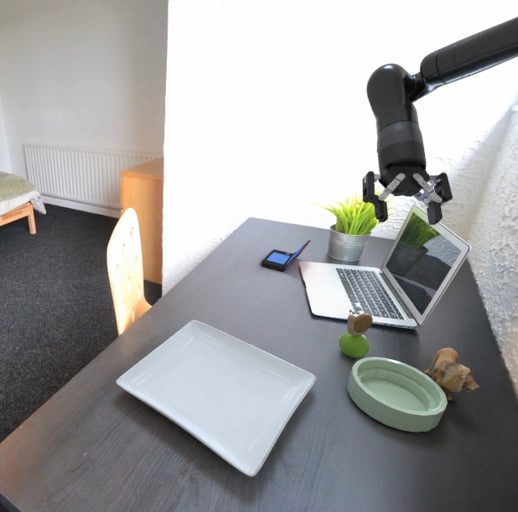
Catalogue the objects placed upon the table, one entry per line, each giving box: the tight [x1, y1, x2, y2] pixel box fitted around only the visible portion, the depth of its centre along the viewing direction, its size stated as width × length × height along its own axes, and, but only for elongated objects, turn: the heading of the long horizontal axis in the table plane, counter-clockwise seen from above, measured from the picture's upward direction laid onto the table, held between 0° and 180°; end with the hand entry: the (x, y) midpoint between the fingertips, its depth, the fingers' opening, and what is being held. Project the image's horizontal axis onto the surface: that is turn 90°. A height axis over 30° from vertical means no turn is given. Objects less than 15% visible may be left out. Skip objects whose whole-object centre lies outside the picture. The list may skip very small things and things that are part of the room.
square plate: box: [115, 319, 317, 478], centre depth 69 cm, size 27×27×4 cm
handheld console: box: [260, 239, 311, 272], centre depth 115 cm, size 12×11×7 cm
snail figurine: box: [338, 309, 374, 359], centre depth 75 cm, size 5×6×12 cm
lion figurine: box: [423, 347, 480, 401], centre depth 68 cm, size 15×5×9 cm, turn 150°
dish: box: [346, 356, 448, 433], centre depth 66 cm, size 14×14×4 cm
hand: (408, 222), depth 70 cm, fingers open, 8 cm apart
